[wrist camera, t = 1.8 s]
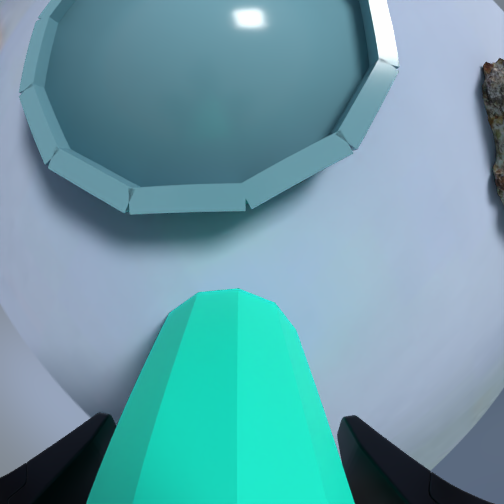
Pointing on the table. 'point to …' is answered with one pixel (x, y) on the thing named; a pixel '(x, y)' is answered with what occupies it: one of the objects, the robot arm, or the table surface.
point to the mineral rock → (496, 115)
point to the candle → (223, 415)
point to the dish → (203, 95)
